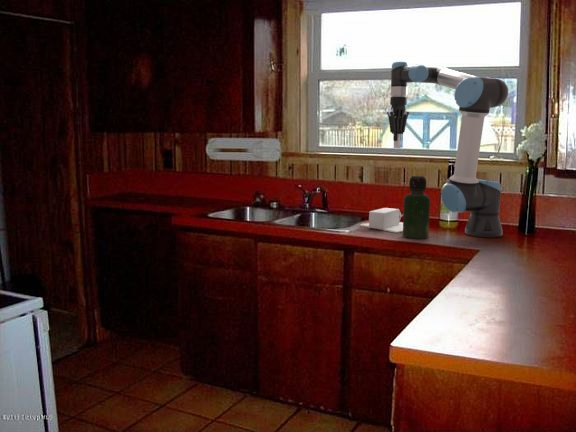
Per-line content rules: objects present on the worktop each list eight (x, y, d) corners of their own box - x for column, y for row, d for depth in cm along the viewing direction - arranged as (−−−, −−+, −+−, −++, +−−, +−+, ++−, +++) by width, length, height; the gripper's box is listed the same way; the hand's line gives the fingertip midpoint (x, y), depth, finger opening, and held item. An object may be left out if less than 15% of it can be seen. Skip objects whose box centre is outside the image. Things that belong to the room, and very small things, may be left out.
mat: (426, 228, 278) (426, 226, 278) (397, 233, 266) (397, 231, 266) (388, 221, 295) (388, 220, 295) (359, 225, 283) (359, 224, 283)
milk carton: (368, 227, 275) (388, 221, 290) (382, 229, 271) (402, 223, 286) (368, 211, 274) (389, 206, 289) (383, 213, 270) (403, 208, 285)
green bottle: (429, 235, 262) (432, 175, 258) (426, 240, 252) (429, 178, 248) (404, 233, 265) (407, 174, 261) (400, 238, 255) (403, 177, 251)
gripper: (401, 96, 294) (399, 147, 297) (383, 96, 285) (381, 148, 289) (414, 96, 288) (412, 148, 292) (395, 95, 280) (393, 148, 283)
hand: (396, 148), depth 290 cm, fingers closed
